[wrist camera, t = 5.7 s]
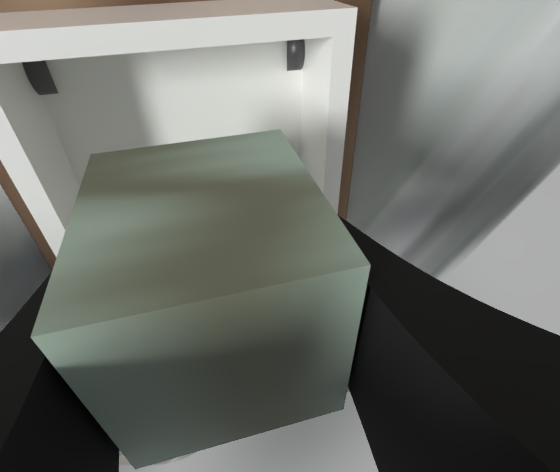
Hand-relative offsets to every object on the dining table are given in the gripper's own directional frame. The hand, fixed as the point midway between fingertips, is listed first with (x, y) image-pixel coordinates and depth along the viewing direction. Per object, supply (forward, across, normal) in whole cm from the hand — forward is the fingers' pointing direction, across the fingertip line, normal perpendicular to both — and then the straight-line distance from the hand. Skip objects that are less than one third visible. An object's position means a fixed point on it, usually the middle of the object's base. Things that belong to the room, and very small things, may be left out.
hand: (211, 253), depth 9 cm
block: (+2, 0, 0) cm, 2 cm away
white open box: (+7, 0, 0) cm, 7 cm away
